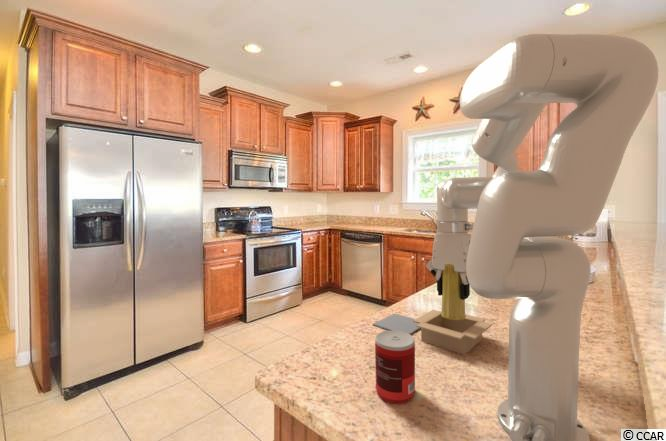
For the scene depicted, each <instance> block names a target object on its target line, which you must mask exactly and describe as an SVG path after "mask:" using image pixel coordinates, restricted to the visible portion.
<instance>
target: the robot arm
mask: <svg viewBox="0 0 666 441" xmlns="http://www.w3.org/2000/svg"><path fill="white" fill-rule="evenodd" d="M658 65H659V64H658V62H657V59H656V56H655V54H654V53H653V51H652V50H651V49H650V47H648V46H647V45H646V44H645V43H643V42H641V41H639V40H636V39H635V38H632V37H631V38H630V37H627V36H620V35H613V34H599V33H598V34H597V33H596V34H594V33H593V34H592V33H584V34H583V33H576V34H575V33H573V34H572V33H571V34H567V33H566V34H563V33H562V34H561V33H560V34H559V33H557V34H556V33H533V34H532V33H531V34H525V35H522V36H518V37H516V38H513V39H512V40H510V41H509V42H507V43H506V44H504V45H503V46H502V47H500V48H499V49H498V50H496V51H494V53H492V54H491V55H490V56H489V57H487V58H486V59H484V60H483V61H482V62H481V63H479V65H477V66H476V67H475V68H474V69H473V71H471V73H470V74H469V75H468V77H467V78H466V80H465V82H464V84H463V85H462V88H461V91H460V97H459V109H460V111H461V113H462V115H463V116H464V117H465V118H468V119H471V120H481V121H480V122H479V124H478V127H477V128H476V131H475V133H474V134H473V136H472V138H471V146H472V149H473V151H474V152H475V154H477V156H479V157H480V158H481V159H483V160H485V161H487V162H488V163H490V164H492V165H495V166H497V168H496V170H495V171H494V172H493V174H492V175H491V176H475V177H473V176H472V177H471V176H469V177H452V178H449V179H447V180H446V181H442V182H439V184H438V185H437V187H436V207H437V212H436V215H437V217H436V218H437V225H436V226H437V230H436V231H437V232H436V233H435V234H434V238H433V245H432V255H431V259H430V260H429V261H428V262H426V264H425V267H426V269H427V270H428V271H429V272H430V273H431V275H432V276H433V277H434V279H435V280H436V290H437V295H438V296H439V297H440V296H442V271H443V270H444V268H445V265H444V264H449V265H454V270H455V272H458V273H460V276H461V279H462V284H461V299H462V300H467V299H468V298H469V297H470V294H471V289H472V291H474V292H475V294H477V295H478V296H480V297H483V298H485V299H490V300H491V299H492V300H504V299H505V300H510V299H511V300H513V299H516V301H515V303H514V305H513V307H512V309H511V312H510V315H509V316H510V317H509V320H508V322H509V323H508V365H507V366H508V370H507V371H508V373H507V374H508V375H507V376H508V378H507V381H508V382H507V399H504V400H503V401H502V402H501V403H500V404H499V405H498V407H497V418H498V422H499V423H500V425H501V427H502V428H503V430H505V432H506V433H507V434H508V437H509V439H510V440H511V441H590V434H589V431H588V430H587V428H586V427H585V426H584V424H583V423H581V421H580V420H578V404H579V403H578V401H579V399H578V398H579V397H578V396H579V371H580V370H579V368H580V367H579V366H580V364H579V362H580V360H579V359H580V343H581V321H582V311H583V307H584V301H585V298H586V294H587V290H588V287H589V283H590V280H591V264H590V259H589V257H588V255H587V252H586V251H584V249H583V248H582V247H581V246H580V245H578V244H577V243H575V242H574V241H572V240H569V239H566V238H563V237H564V236H565V237H566V236H567V237H568V236H575V235H581V234H584V233H586V232H589V230H591V229H592V228H593V227H594V226H595V225H596V223H597V222H598V221H599V219H600V216H601V214H602V212H603V209H604V207H605V205H606V202H607V200H608V197H609V194H610V193H611V190H612V187H613V186H614V182H615V179H616V177H617V174H618V172H619V169H620V166H621V164H622V161H623V158H624V155H625V153H626V150H627V148H628V145H629V143H630V141H631V139H632V136H633V135H634V133H635V131H636V129H637V127H638V126H639V124H640V122H641V120H642V119H643V117H644V115H645V113H646V111H647V110H648V108H649V106H650V104H651V103H652V99H653V97H654V95H655V92H656V89H657V86H658V81H659V66H658ZM559 103H560V104H562V103H563V104H564V103H566V104H567V103H570V104H571V103H572V104H575V105H576V108H574V109H573V110H572V111H571V112H570V113H568V114H566V116H565V117H564V118H563V119H562V120H561V122H560V123H559V124H558V125H557V127H556V128H555V129H554V130H553V131H552V133H551V135H550V137H549V139H548V141H547V144H546V148H545V152H544V156H543V158H542V161H541V163H540V165H539V167H538V168H537V169H536V170H520V169H519V168H520V167H519V166H520V164H519V162H518V158H517V155H516V154H515V153H516V152H517V150H518V149H519V147H520V146H521V144H522V143H523V141H524V140H525V139H526V136H527V135H528V134H529V132H530V131H531V129H532V127H533V126H534V125H535V123H536V121H537V120H538V119H539V117H540V115H541V113H542V112H543V111H544V109H545V108H546V106H547V104H559ZM471 209H472V210H473V209H475V210H476V213H475V217H474V221H473V224H471V223H470V222H469V221H468V220H469V217H468V216H469V214H468V210H471ZM470 230H471V233H469V232H470Z"/></svg>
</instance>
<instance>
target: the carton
mask: <svg viewBox="0 0 666 441" xmlns="http://www.w3.org/2000/svg"><path fill="white" fill-rule="evenodd" d="M441 312H442V310H441V311H440V310H437V309H432V310H429V311H428V312H425V314H422V315H420V316H419V317H417V318H414V319H415V320H413V322H415V323H419V324H418V325H416V327H418V328H421V329H420V331H421V335H420V336H421V337H420V338H421V339H420V340H421V342H424V343H427V344H429V345H433V346H436V347H439V348H442V349H445V350H448V351H451V352H455V353H456V354H460V355H464V356H465V355H466V354H467V353H469V351H471V350H472V349H473V348H474V347H476V346H477V344H479V343H480V342H481V341H482V340H483V334H484V333H485V332H486V331H487V330H489V329H490V328H491V327H492V326H493V323H489V322H486V318H483V317H479V316H474V315H471V314H467V313H465V315H466V318H465V319H463V320H449V319H446V318H443V317H442V316H441Z"/></svg>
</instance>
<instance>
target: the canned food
mask: <svg viewBox="0 0 666 441" xmlns="http://www.w3.org/2000/svg"><path fill="white" fill-rule="evenodd" d="M374 341H375V342H374V344H375V345H374V352H375V353H374V355H375V360H374V361H375V362H374V364H375V366H374V368H375V390H376V392H377V395H378V397H379V398H381V399H382V400H383V401H385V402H387V403H390V404H396V405H397V404H398V405H401V404H405V403H408V402H411V400H412V399H413V397H414V394H415V391H416V346H415V345H416V344H415V343H416V342H415V338H414V336H413V335H412V334H411V335H410V334H408V333H405V332H402V331H396V330H389V331H388V330H384V331H381V332H379V333H377V334H376V335H375V340H374Z"/></svg>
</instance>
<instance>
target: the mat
mask: <svg viewBox="0 0 666 441" xmlns="http://www.w3.org/2000/svg"><path fill="white" fill-rule="evenodd" d="M415 319H416V318H413V317H409V316H405V315H403V314H399V313H393V314H392V315H388V316H387V317H384V318H382V319H381V320H378V321H376V322H374V323H372V327H376V328H380V329H383V330H384V331H389V330H396V331H402V332H405V333H408V334H410V335H411V336H412V335H413V334H414V333H416V332H418V331H419V330H420V331H421V328H418V327H416V325H418V324H419V323H415V322H413V320H415Z"/></svg>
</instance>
